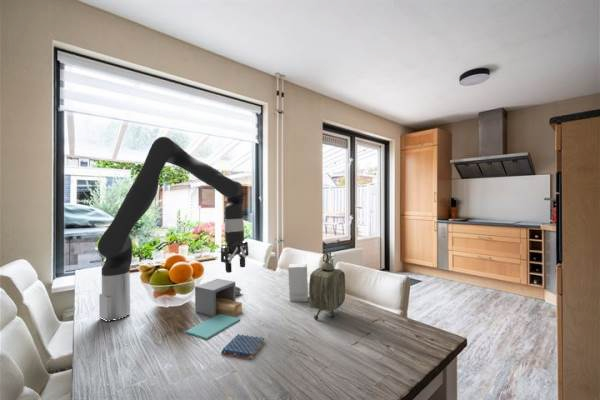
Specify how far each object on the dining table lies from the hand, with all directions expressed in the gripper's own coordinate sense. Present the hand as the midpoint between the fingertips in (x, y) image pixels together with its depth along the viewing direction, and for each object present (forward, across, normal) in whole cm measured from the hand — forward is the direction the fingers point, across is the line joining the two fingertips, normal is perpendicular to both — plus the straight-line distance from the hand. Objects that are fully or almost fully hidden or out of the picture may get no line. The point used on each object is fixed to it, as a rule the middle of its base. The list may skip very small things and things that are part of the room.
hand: (235, 269), depth 109 cm
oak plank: (+17, +1, -6) cm, 18 cm away
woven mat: (+18, +21, +19) cm, 34 cm away
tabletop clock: (+18, -11, +35) cm, 41 cm away
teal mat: (+17, +14, +1) cm, 22 cm away
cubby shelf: (+17, +1, -10) cm, 20 cm away
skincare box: (+18, -22, +17) cm, 33 cm away
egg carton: (+17, -13, -16) cm, 27 cm away
